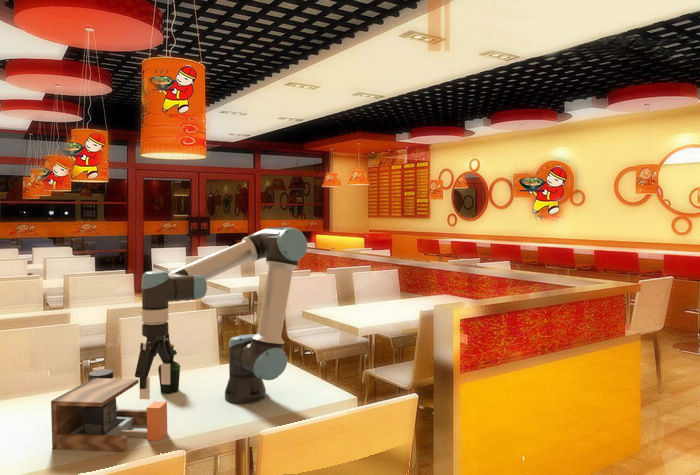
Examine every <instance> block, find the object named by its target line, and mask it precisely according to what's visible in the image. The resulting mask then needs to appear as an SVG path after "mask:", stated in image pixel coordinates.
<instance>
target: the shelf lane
mask: <svg viewBox="0 0 700 475" xmlns="http://www.w3.org/2000/svg"><path fill="white" fill-rule="evenodd" d="M138 384H140V378H137V379H136V378H115V379H110V378H93V379H91V380H89V381H88V380H87V381H86V382H84V383H82V384H79V385H78V386H75V388H73V389H70V390H69V391H67V392H65V393H63V394H61V395H59V396H57V397H56V398H54V399H52V400H51V401H50V406H51V407H50V412H51V413H50V414H51V415H50V418H51V448H52V450H72V451H73V450H74V451H91V452H92V451H94V452H95V451H96V452H114V453H115V452H116V453H117V452H118V453H119V452H121V453H122V452H123V453H125V452H126V451H127V450H128V436H113V435H88V434H70V433H71V432H73V431H74V430H76V429H77V428H79V427H80V426H82V425H83V409H84V408H85V407H86V406H95V407H102V406H104V405H105V404H107V403H108V402H110V401H111V400H113V399H114V398H116V399H117V397H119V396H121V395H122V394H124V393H126V392H127V391H129V390H130V389H132V388H133V387H135V386H136V385H138ZM116 413H117V416H120V417H134V425H135V424H137V425H139V424H141V425H142V424H143V425H147V409H128V408H127V409H125V408H116Z"/></svg>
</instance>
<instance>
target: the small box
mask: <svg viewBox="0 0 700 475" xmlns="http://www.w3.org/2000/svg"><path fill="white" fill-rule="evenodd" d="M116 409H117V397H116V398H114V399H113V400H111V401H110V402H108V403H107V404H105V405H104V406H102V407H95V406H86V407H85V408H84V409H83V424H84V434H88V435H106V434H107V433H108V432H110V431H111V430H112V429H114V428H115V427H116V426H117V413H116Z"/></svg>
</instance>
